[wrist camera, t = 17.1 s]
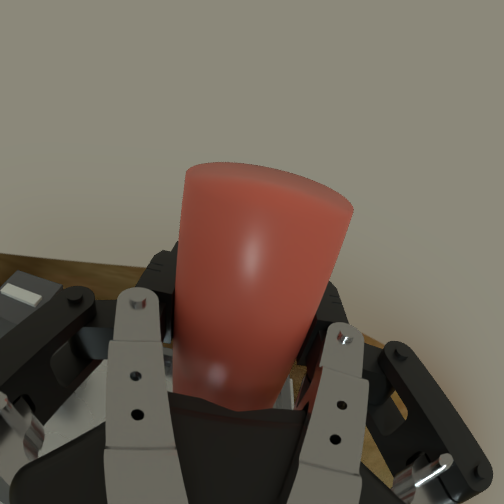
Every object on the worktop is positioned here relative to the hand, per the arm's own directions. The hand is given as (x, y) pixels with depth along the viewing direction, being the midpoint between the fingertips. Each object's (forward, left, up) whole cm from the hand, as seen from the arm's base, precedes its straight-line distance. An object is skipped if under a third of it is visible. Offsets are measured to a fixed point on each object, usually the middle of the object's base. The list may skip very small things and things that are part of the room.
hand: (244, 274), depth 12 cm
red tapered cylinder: (0, -3, -6) cm, 7 cm away
